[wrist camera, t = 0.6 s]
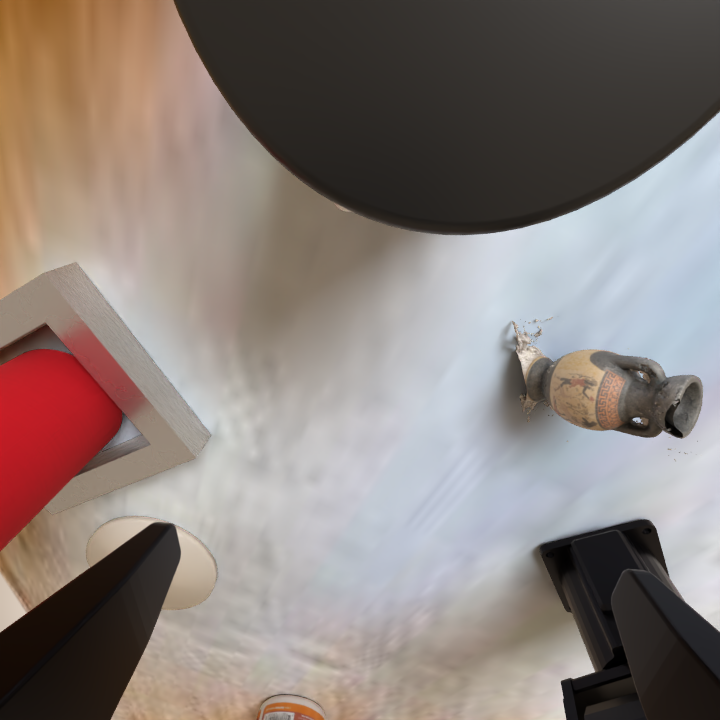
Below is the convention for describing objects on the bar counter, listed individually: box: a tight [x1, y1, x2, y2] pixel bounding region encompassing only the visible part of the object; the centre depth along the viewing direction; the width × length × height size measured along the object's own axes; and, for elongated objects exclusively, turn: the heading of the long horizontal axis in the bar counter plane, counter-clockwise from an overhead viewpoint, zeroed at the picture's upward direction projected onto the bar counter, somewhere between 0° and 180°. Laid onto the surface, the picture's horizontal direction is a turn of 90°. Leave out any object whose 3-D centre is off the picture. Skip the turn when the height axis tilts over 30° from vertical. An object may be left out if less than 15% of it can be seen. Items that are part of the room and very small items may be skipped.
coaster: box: [86, 516, 218, 610], centre depth 29 cm, size 9×9×1 cm
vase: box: [512, 317, 703, 460], centre depth 17 cm, size 5×5×6 cm
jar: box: [174, 0, 720, 235], centre depth 10 cm, size 9×8×12 cm
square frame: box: [0, 262, 211, 515], centre depth 22 cm, size 11×11×2 cm
